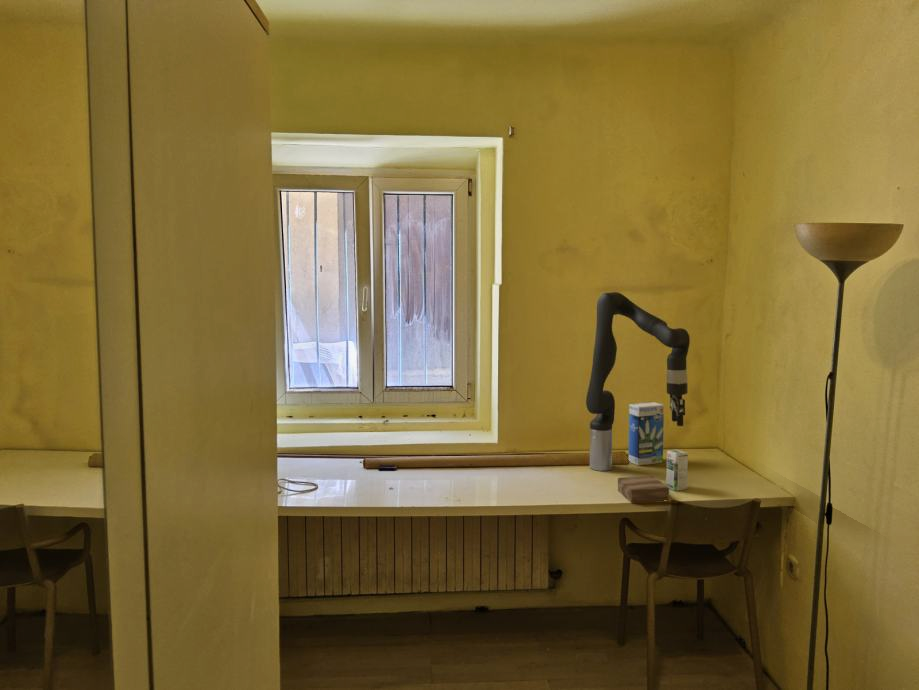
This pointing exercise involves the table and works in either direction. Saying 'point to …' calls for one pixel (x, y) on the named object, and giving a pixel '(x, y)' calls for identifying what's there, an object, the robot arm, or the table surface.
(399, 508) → the table surface
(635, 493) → the walnut block
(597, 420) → the robot arm
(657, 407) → the string lights box
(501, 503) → the table surface
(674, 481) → the syrup box
